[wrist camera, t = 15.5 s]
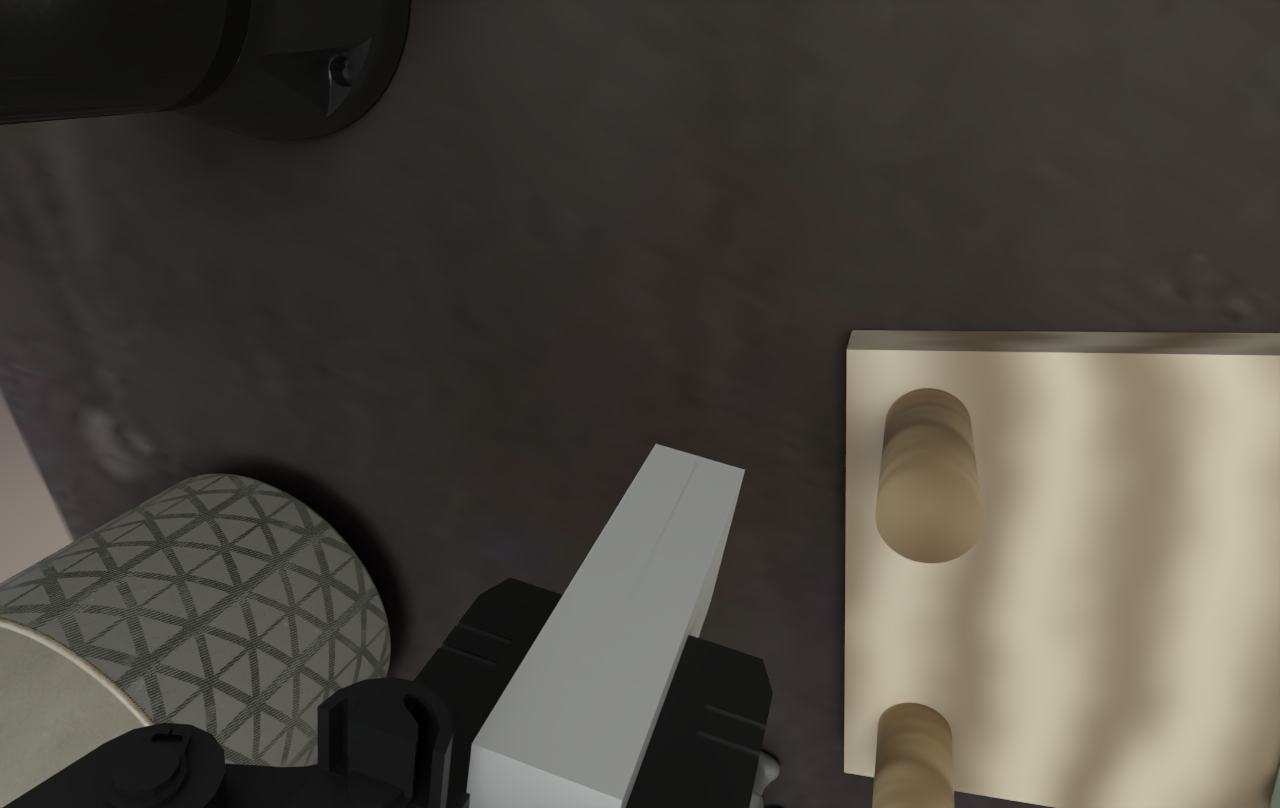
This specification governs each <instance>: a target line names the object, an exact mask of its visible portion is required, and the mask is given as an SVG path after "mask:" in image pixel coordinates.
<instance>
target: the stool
mask: <svg viewBox="0 0 1280 808" xmlns="http://www.w3.org/2000/svg"><path fill="white" fill-rule="evenodd" d="M1279 768H1280V333H1176V332H1032V331H889V330H852V332H851V336H850V339H849V343H848V347H847V391H846V555H845V719H844V772H845V773H851V774H857V775H863V776H869V777H874V789H873V803H872V808H954V791H959V792H965V793H971V794H977V795H983V796H989V797H995V798H1001V799H1007V800H1013V801H1019V802H1025V803H1031V804H1037V805H1043V806H1049V807H1055V808H1271V807H1270V803H1271V799H1272V795H1273V791H1274V787H1275V784H1276V780H1277V776H1278V772H1279Z"/></svg>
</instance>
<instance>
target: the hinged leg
mask: <svg viewBox="0 0 1280 808" xmlns="http://www.w3.org/2000/svg"><path fill="white" fill-rule="evenodd" d="M1270 807H1271V808H1280V768H1279V772H1278V776H1277V780H1276V784H1275V787H1274V791H1273V795H1272V799H1271V803H1270Z"/></svg>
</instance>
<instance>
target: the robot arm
mask: <svg viewBox="0 0 1280 808" xmlns="http://www.w3.org/2000/svg"><path fill="white" fill-rule="evenodd" d="M408 16H409V0H0V125H4V124H16V123H28V122H40V121H52V120H64V119H75V118H87V117H99V116H111V115H123V114H135V113H148V112H161V111H173V112H176V113H179V114H182V115H185V116H188V117H191V118H193V119H196V120H199V121H202V122H205V123H208V124H211V125H214V126H217V127H220V128H223V129H226V130H229V131H232V132H235V133H238V134H241V135H244V136H248V137H252V138H258V139H265V140H293V139H301V138H309V137H316V136H321V135H326V134H329V133H332V132H335V131H337V130H340V129H342V128H344V127H346V126H347V125H349V124H351V123H352V122H354V121H355V120H357V119H358V118H359V117H361V116H362V115H363V114H364V113H365V112H366V111H367V110H368V109H369V108H370V107H371V106H372V105H373V104H374V103H375V102H376V100H377V99H378V98H379V97H380V95H381V94H382V92H383V91H384V90H385V88H386V86H387V84H388V83H389V81H390V79H391V77H392V75H393V73H394V71H395V69H396V66H397V64H398V61H399V58H400V55H401V52H402V49H403V45H404V41H405V36H406V31H407V25H408ZM744 472H745V470H744V469H740V468H737V467H733V466H730V465H727V464H723V463H720V462H716V461H713V460H710V459H706V458H703V457H699V456H696V455H692V454H689V453H686V452H682V451H679V450H675V449H672V448H669V447H665V446H662V445H658V444H655V446H654V448H653V449H652V451H651V453H650V454H649V456H648V457H647V459H646V461H645V462H644V464H643V466H642V467H641V469H640V470H639V472H638V474H637V475H636V477H635V479H634V480H633V482H632V483H631V485H630V487H629V488H628V490H627V492H626V493H625V495H624V497H623V498H622V500H621V501H620V503H619V505H618V506H617V508H616V510H615V511H614V513H613V514H612V516H611V518H610V519H609V521H608V523H607V524H606V526H605V527H604V529H603V531H602V532H601V534H600V536H599V537H598V539H597V541H596V542H595V544H594V545H593V547H592V549H591V550H590V552H589V554H588V555H587V557H586V558H585V560H584V562H583V563H582V565H581V567H580V568H579V570H578V571H577V573H576V575H575V576H574V578H573V580H572V581H571V583H570V584H569V586H568V588H567V589H566V591H565V593H564V594H563V595H561V594H558V593H555V592H552V591H549V590H546V589H543V588H540V587H537V586H534V585H531V584H528V583H525V582H522V581H519V580H516V579H513V578H508V579H507V580H505V581H503V582H501V583H500V584H498V585H496V586H494V587H493V588H491V589H489V590H487V591H486V592H484V593H482V594H480V595H479V596H478V597H477V599H476V600H475V601H474V603H473V604H472V605H471V607H470V608H469V609H468V610H467V612H466V613H465V614H464V616H463V617H462V618H461V620H460V621H459V624H458V626H455V628H454V629H453V630H452V631H451V633H450V634H449V635H448V637H447V638H446V639H445V641H444V642H443V645H442V647H441V649H440V648H438V650H437V651H436V652H435V654H434V655H433V656H432V658H431V659H430V660H429V662H428V663H427V664H426V665H425V667H424V668H423V669H422V671H421V672H420V673H419V675H418V676H417V677H416V679H415V680H414V681H409V680H404V679H399V678H394V677H387V678H376V679H366V680H362V681H359V682H357V683H354V684H352V685H349V686H347V687H344V688H342V689H339V690H337V691H336V692H335V693H334V694H333V695H331V696H330V697H329V698H328V699H326V700H325V701H324V702H323V703H321V704H320V705H319V706H318V707H317V722H318V764H315V765H310V766H303V767H274V766H258V765H242V764H226V763H225V755H224V749H223V748H222V747H221V745H220V744H219V743H218V742H217V740H216V739H215V738H214V736H213V735H212V734H211V733H208V732H206V731H204V730H202V729H200V728H197V727H195V726H193V725H190V724H175V723H160V724H155V725H151V726H146V727H141V728H136V729H133V730H131V731H128V732H126V733H124V734H122V735H120V736H118V737H116V738H114V739H112V740H110V741H107V742H105V743H104V744H102V745H100V746H99V747H97V748H96V749H94V750H92V751H91V752H89V753H88V754H86V755H85V756H83V757H81V758H80V759H78V760H77V761H75V762H74V763H72V764H70V765H69V766H67V767H66V768H64V769H62V770H61V771H59V772H58V773H56V774H55V775H53V776H51V777H50V778H48V779H47V780H45V781H43V782H42V783H40V784H39V785H37V786H36V787H34V788H32V789H31V790H29V791H28V792H26V793H25V794H23V795H21V796H20V797H18V798H17V799H15V800H13V801H12V802H10V803H9V804H7V805H6V806H4V807H2V808H749V807H750V802H751V797H752V792H753V787H754V782H755V777H756V772H757V767H758V762H759V756H760V752H761V748H762V743H763V738H764V733H765V732H764V731H765V727H766V723H767V718H768V713H769V708H770V703H771V698H772V693H773V692H772V689H771V686H770V682H769V679H768V676H767V672H766V669H765V666H764V662H763V659H760V658H757V657H754V656H751V655H748V654H745V653H742V652H739V651H736V650H733V649H730V648H727V647H724V646H721V645H718V644H715V643H712V642H709V641H706V640H703V639H700V638H698V637H699V634H700V631H701V628H702V625H703V622H704V619H705V617H706V614H707V611H708V608H709V605H710V602H711V598H712V594H713V590H714V587H715V583H716V579H717V575H718V571H719V567H720V564H721V560H722V556H723V552H724V548H725V545H726V541H727V537H728V533H729V529H730V525H731V522H732V518H733V514H734V510H735V506H736V503H737V499H738V495H739V491H740V487H741V483H742V480H743V476H744Z"/></svg>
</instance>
